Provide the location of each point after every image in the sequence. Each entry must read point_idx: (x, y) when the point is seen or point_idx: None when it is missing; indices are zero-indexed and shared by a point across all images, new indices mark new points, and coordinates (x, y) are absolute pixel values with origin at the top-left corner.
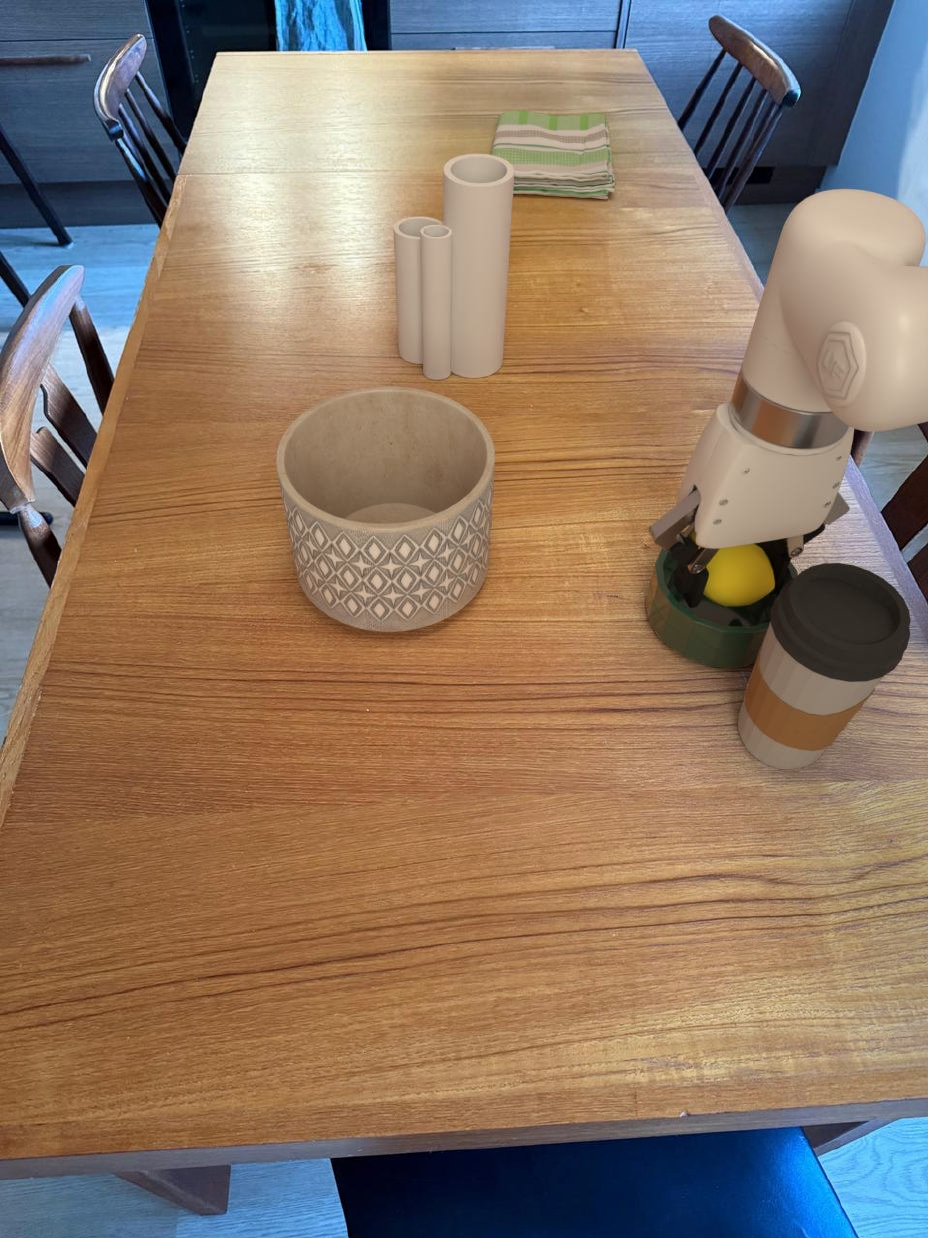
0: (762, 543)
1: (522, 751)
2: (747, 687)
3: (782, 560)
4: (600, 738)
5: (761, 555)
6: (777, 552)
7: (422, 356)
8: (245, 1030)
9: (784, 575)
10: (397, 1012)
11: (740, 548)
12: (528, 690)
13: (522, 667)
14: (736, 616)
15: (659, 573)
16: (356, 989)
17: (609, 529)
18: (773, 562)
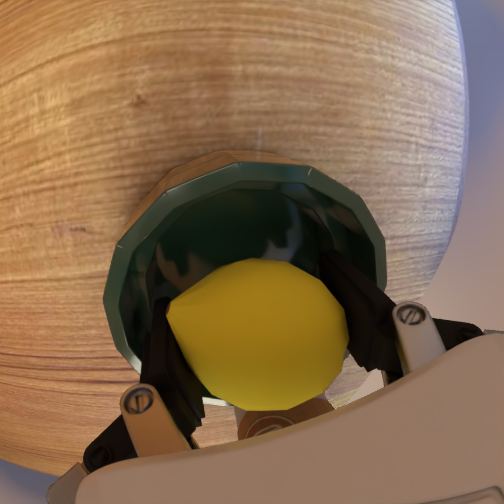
0: (357, 300)
1: (52, 403)
2: (242, 438)
3: (366, 366)
4: (105, 400)
5: (332, 375)
6: (369, 352)
7: None
8: (24, 458)
9: (365, 272)
10: (65, 467)
11: (289, 396)
12: (31, 361)
13: (15, 339)
14: None
15: (114, 324)
16: (47, 460)
17: (80, 68)
18: (353, 342)
